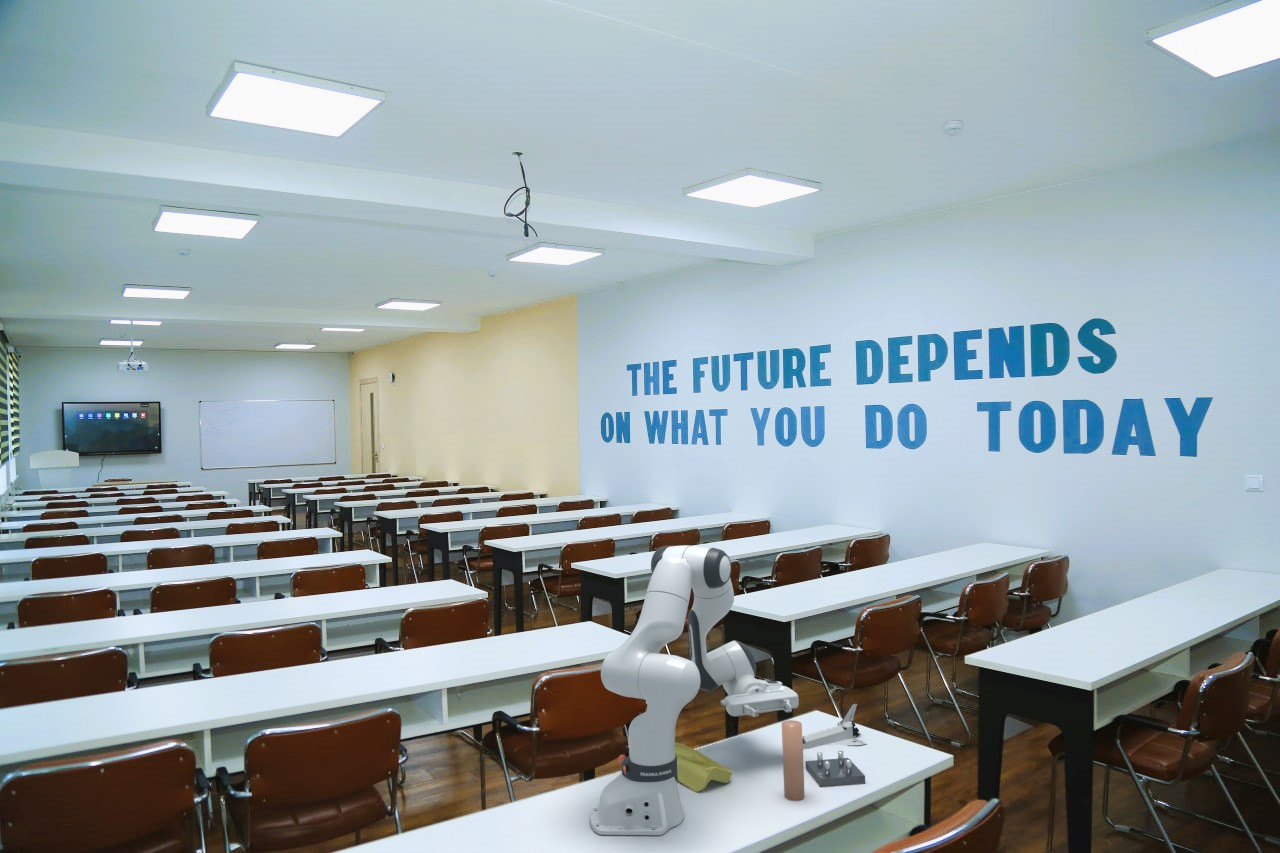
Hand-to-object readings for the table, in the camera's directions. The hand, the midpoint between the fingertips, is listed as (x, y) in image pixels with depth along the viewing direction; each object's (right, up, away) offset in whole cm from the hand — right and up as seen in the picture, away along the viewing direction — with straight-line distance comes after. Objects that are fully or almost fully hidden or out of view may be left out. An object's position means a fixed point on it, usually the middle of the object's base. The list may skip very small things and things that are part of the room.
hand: (772, 711), depth 211 cm
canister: (+3, -17, -13) cm, 21 cm away
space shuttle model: (+19, -18, +23) cm, 35 cm away
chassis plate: (+16, -17, -1) cm, 23 cm away
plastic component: (-20, -18, +2) cm, 27 cm away
